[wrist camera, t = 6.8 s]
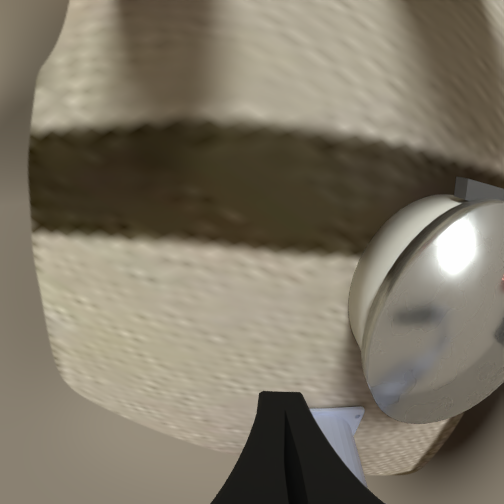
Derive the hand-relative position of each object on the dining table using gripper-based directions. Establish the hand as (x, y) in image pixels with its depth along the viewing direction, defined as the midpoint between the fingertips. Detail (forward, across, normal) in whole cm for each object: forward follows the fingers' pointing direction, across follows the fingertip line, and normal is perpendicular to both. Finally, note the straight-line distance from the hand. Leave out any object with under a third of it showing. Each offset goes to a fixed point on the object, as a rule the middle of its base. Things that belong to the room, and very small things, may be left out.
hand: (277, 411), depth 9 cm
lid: (+6, -12, 0) cm, 14 cm away
